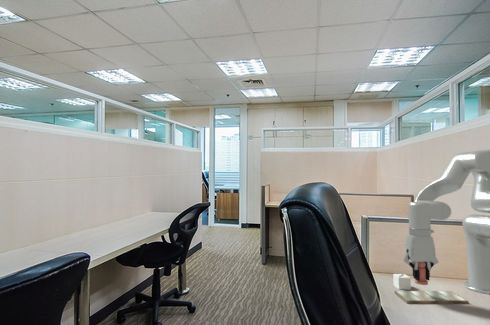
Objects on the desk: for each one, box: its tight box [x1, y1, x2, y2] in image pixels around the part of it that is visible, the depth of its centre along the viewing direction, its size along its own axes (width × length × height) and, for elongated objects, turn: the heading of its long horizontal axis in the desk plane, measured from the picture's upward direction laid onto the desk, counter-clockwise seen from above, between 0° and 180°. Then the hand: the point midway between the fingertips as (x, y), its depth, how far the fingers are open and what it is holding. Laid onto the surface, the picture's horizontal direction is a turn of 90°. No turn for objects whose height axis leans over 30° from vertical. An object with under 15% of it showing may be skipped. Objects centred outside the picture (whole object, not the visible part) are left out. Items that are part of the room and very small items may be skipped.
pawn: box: [414, 262, 429, 286], centre depth 118 cm, size 4×4×9 cm
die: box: [392, 273, 412, 290], centre depth 129 cm, size 5×5×5 cm
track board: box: [394, 290, 469, 305], centre depth 117 cm, size 23×10×1 cm, turn 88°
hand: (421, 278), depth 117 cm, fingers closed on pawn, 3 cm apart
